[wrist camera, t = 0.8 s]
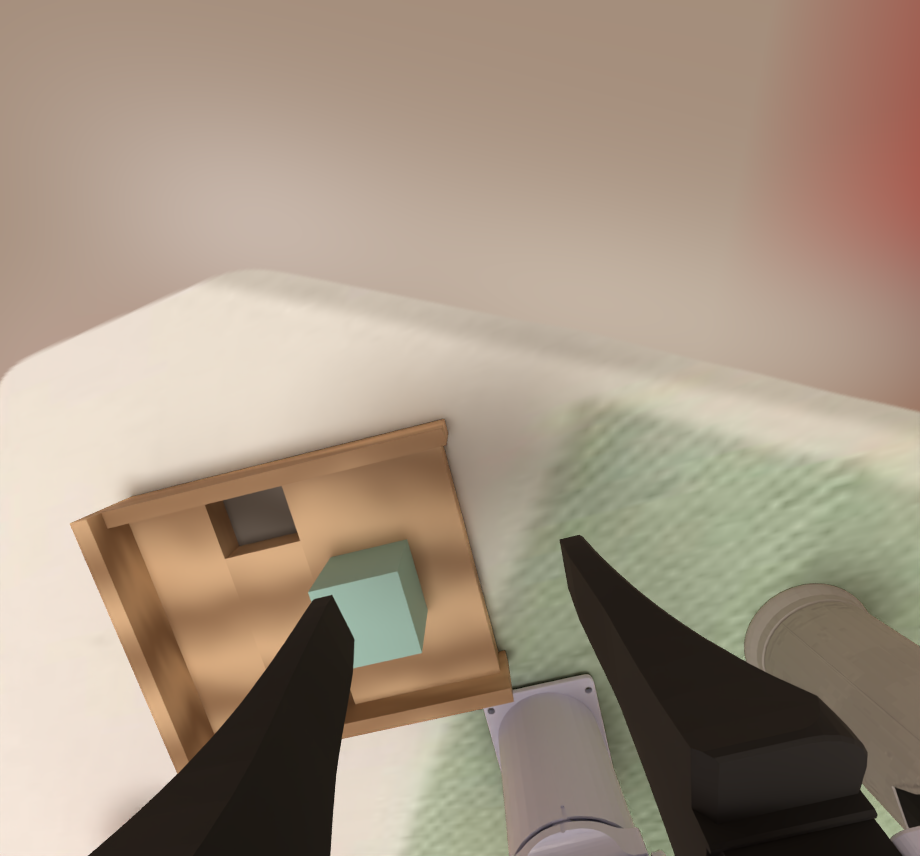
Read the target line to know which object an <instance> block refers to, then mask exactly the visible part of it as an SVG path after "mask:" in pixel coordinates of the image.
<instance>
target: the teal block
mask: <svg viewBox="0 0 920 856" xmlns="http://www.w3.org/2000/svg"><path fill="white" fill-rule="evenodd" d="M308 594H309V597H310V600H311V602H312V601H313V599H317V598H321V597H325V596H329V595H333V597H334V599H335V601H336V603H337V605H338V607H339V609H340V611H341V613H342V615H343V617H344V619H345V621H346V623H347V625H348V627H349V629H350V631H351V633H352V635H353V637H354V639H355V642H354V664H353V668H357V667H362V666H366V665H371V664H375V663H380V662H384V661H389V660H393V659H398V658H402V657H407V656H411V655H415V654H420V653H422V649H423V642H424V635H425V627H426V620H427V613H428V609H427V606H426V602H425V599H424V596H423V592H422V589H421V585H420V582H419V578H418V575H417V571H416V568H415V565H414V561H413V558H412V554H411V551H410V547H409V544H408V541H407V539H406V540H402V541H398V542H393V543H389V544H385V545H381V546H376V547H372V548H368V549H364V550H359V551H355V552H351V553H347V554H343V555H338V556H334V557H330V559H329V560H328V562H327V563H326V565H325V567H324V568H323V570H322V571H321V573H320V574H319V576H318V577H317V579H316V581H315V582H314V584H313V585H312V587H311V588H310V590H309V591H308Z"/></svg>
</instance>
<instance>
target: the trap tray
mask: <svg viewBox="0 0 920 856" xmlns="http://www.w3.org/2000/svg"><path fill="white" fill-rule="evenodd" d="M447 438H448V430H447V427H446V423H445V419H441V420H437V421H433V422H429V423H425V424H421V425H417V426H413V427H409V428H405V429H401V430H397V431H393V432H389V433H385V434H381V435H377V436H373V437H369V438H365V439H361V440H357V441H353V442H349V443H345V444H341V445H337V446H333V447H329V448H325V449H321V450H317V451H313V452H309V453H305V454H301V455H297V456H293V457H289V458H285V459H281V460H277V461H273V462H269V463H265V464H261V465H257V466H253V467H249V468H245V469H241V470H237V471H233V472H229V473H225V474H221V475H217V476H213V477H209V478H205V479H201V480H197V481H193V482H189V483H185V484H181V485H177V486H173V487H169V488H165V489H161V490H157V491H153V492H149V493H145V494H141V495H137V496H133V497H129V498H127V499H125V500H122V501H120V502H118V503H116V504H113V505H111V506H109V507H106V508H104V509H102V510H100V511H97V512H95V513H93V514H90V515H88V516H86V517H84V518H81V519H79V520H77V521H74V522H72V523H70V526H71V528H72V530H73V532H74V535H75V537H76V539H77V542H78V544H79V546H80V549H81V551H82V553H83V556H84V558H85V560H86V563H87V565H88V567H89V570H90V572H91V574H92V577H93V579H94V581H95V584H96V586H97V588H98V590H99V593H100V595H101V597H102V600H103V602H104V604H105V607H106V609H107V611H108V614H109V616H110V618H111V621H112V623H113V625H114V628H115V630H116V632H117V635H118V637H119V639H120V642H121V644H122V646H123V649H124V651H125V653H126V655H127V658H128V660H129V662H130V665H131V667H132V669H133V672H134V674H135V676H136V679H137V681H138V683H139V686H140V688H141V690H142V693H143V695H144V697H145V700H146V702H147V704H148V707H149V709H150V711H151V713H152V716H153V718H154V720H155V723H156V725H157V727H158V730H159V732H160V734H161V737H162V739H163V741H164V744H165V746H166V748H167V751H168V753H169V755H170V758H171V760H172V762H173V765H174V767H175V769H176V772H177V774H178V773H179V772H180V771H181V770H182V769H183V768H184V767H185V766H186V764H187V763H188V762H189V761H190V760H191V759H192V758H193V757H194V756H195V755H196V754H197V753H198V752H199V751H200V749H201V748H202V747H203V746H204V745H205V744H206V743H207V742H208V741H209V740H210V739H211V738H212V737H213V735H214V734H215V733H216V732H217V731H218V730H219V729H220V727H221V726H222V725H223V724H224V723H225V721H226V720H227V719H228V718H229V717H230V716H231V714H232V713H233V712H234V711H235V709H236V708H237V707H238V706H239V705H240V703H241V702H242V701H243V699H244V698H245V697H246V696H247V694H248V693H249V692H250V690H251V689H252V687H253V686H254V685H255V683H256V682H257V681H258V679H259V678H260V677H261V675H262V674H263V673H264V671H265V670H266V668H267V667H268V666H269V664H270V663H271V662H272V660H273V659H274V657H275V656H276V654H277V653H278V651H279V650H280V648H281V647H282V645H283V644H284V642H285V641H286V640H287V638H288V637H289V635H290V634H291V632H292V631H293V629H294V627H295V626H296V624H297V623H298V621H299V620H300V618H301V617H302V615H303V614H304V612H305V611H306V609H307V608H308V606H309V605H310V603H311V600H310V597H309V594H308V591H309V590H310V588H311V587H312V585H313V584H314V582H315V581H316V579H317V577H318V576H319V574H320V573H321V571H322V570H323V568H324V567H325V565H326V563H327V562H328V560H329V559H330V557H334V556H338V555H343V554H347V553H351V552H355V551H359V550H364V549H368V548H372V547H376V546H381V545H385V544H389V543H393V542H398V541H402V540H406V539H407V541H408V544H409V547H410V551H411V554H412V558H413V561H414V565H415V568H416V571H417V575H418V578H419V582H420V585H421V589H422V592H423V596H424V599H425V602H426V606H427V609H428V613H427V620H426V627H425V635H424V642H423V649H422V653H420V654H415V655H411V656H407V657H402V658H398V659H393V660H389V661H384V662H380V663H375V664H371V665H366V666H362V667H357V668H353V676H352V682H351V688H350V694H349V700H348V706H347V712H346V717H345V723H344V729H343V734H342V739H344V738H348V737H353V736H358V735H362V734H367V733H372V732H376V731H381V730H386V729H390V728H395V727H400V726H404V725H409V724H414V723H418V722H423V721H428V720H432V719H437V718H441V717H446V716H451V715H455V714H460V713H465V712H469V711H474V710H479V709H483V708H488V707H493V706H497V705H502V704H507V703H511V702H514V698H513V691H512V684H511V678H510V671H509V664H508V659H507V656H506V652H505V650H504V651H499V652H498V649H497V645H496V642H495V638H494V634H493V630H492V627H491V623H490V619H489V615H488V612H487V608H486V604H485V600H484V596H483V593H482V589H481V585H480V581H479V578H478V574H477V570H476V566H475V563H474V559H473V555H472V551H471V547H470V544H469V540H468V536H467V532H466V529H465V525H464V521H463V517H462V514H461V510H460V506H459V502H458V498H457V495H456V491H455V487H454V483H453V480H452V476H451V472H450V468H449V465H448V461H447V457H446V453H445V449H444V446H445V445H446V444H447Z"/></svg>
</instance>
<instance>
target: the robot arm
mask: <svg viewBox="0 0 920 856" xmlns="http://www.w3.org/2000/svg"><path fill="white" fill-rule="evenodd" d="M560 545H561V550H562V556H563V561H564V567H565V573H566V578H567V584H568V589H569V592H570V594H571V597H572V600H573V603H574V606H575V609H576V611H577V614H578V617H579V620H580V622H581V624H582V626H583V628H584V630H585V633H586V635H587V637H588V639H589V641H590V643H591V645H592V647H593V649H594V651H595V654H596V656H597V658H598V660H599V662H600V664H601V666H602V668H603V670H604V672H605V674H606V676H607V679H608V681H609V683H610V685H611V687H612V689H613V691H614V693H615V696H616V698H617V700H618V703H619V705H620V707H621V710H622V712H623V715H624V717H625V720H626V723H627V725H628V728H629V731H630V733H631V736H632V739H633V741H634V744H635V746H636V749H637V752H638V755H639V757H640V760H641V763H642V765H643V768H644V771H645V773H646V776H647V779H648V782H649V784H650V787H651V790H652V792H653V795H654V798H655V801H656V804H657V806H658V809H659V812H660V815H661V817H662V820H663V823H664V826H665V828H666V831H667V834H668V837H669V840H670V842H671V845H672V848H673V851H674V854H675V856H920V826H917V827H912V828H909V829H905V830H902V831H900V832H898V833H896V834H895V835H893V836H892V837H891V838H890V839H889V837H888V836H887V835H886V833H885V832H884V831H883V830H882V828H881V827H880V826H879V824H878V823H877V822H876V820H875V818H877V813H876V810H875V808H874V807H873V806H872V805H871V803H870V802H869V801H868V799H867V798H866V797H865V796H864V794H863V793H862V792H861V790H860V788H861V785H862V781H863V778H864V775H865V771H866V768H867V758H868V752H867V750H866V748H865V746H864V744H863V743H862V742H861V741H860V740H859V739H858V737H857V736H856V735H855V734H854V733H853V732H852V730H851V729H850V728H849V727H848V726H847V725H846V724H845V723H844V722H843V721H842V720H841V719H840V718H839V717H838V715H837V714H836V713H835V712H833V711H832V710H831V709H830V708H829V707H828V706H827V705H826V704H825V703H824V702H823V701H822V700H821V699H820V698H819V697H818V696H817V695H815V694H812V693H810V692H808V691H806V690H804V689H801V688H799V687H797V686H795V685H793V684H790V683H788V682H786V681H784V680H782V679H779V678H777V677H775V676H773V675H771V674H769V673H767V672H765V671H763V670H761V669H759V668H757V667H755V666H753V665H751V664H749V663H747V662H746V661H744V660H742V659H740V658H738V657H737V656H735V655H733V654H731V653H730V652H728V651H726V650H724V649H723V648H721V647H719V646H718V645H716V644H714V643H712V642H711V641H709V640H707V639H705V638H704V637H702V636H701V635H699V634H698V633H696V632H695V631H693V630H691V629H690V628H688V627H687V626H685V625H684V624H682V623H681V622H680V621H678V620H677V619H675V618H674V617H672V616H671V615H669V614H668V613H667V612H665V611H664V610H663V609H661V608H660V607H659V606H657V605H656V604H655V603H653V602H652V601H651V600H650V599H648V598H647V597H646V596H645V595H643V594H642V593H641V592H640V591H638V590H637V589H636V588H635V587H634V586H633V585H631V584H630V583H629V582H628V581H627V580H626V579H625V578H623V577H622V576H621V575H620V574H619V573H618V572H617V571H616V570H615V569H613V568H612V567H611V566H610V565H609V564H608V563H607V562H606V561H605V560H604V559H603V558H602V557H601V556H600V555H599V554H598V553H597V552H596V551H595V550H594V549H593V548H592V546H591V545H590V544H589V543H588V542H587V541H586V540H585V539H584V537H582V536H580V535H577V536H572V537H568V538H564V539H560ZM354 642H355V639H354V637H353V635H352V633H351V631H350V629H349V627H348V625H347V623H346V621H345V619H344V617H343V615H342V613H341V611H340V609H339V607H338V605H337V603H336V601H335V599H334V597H333V595H329V596H325V597H321V598H317V599H313V601H312V602H311V603H310V605H309V606H308V608H307V609H306V611H305V612H304V614H303V615H302V617H301V618H300V620H299V621H298V623H297V624H296V626H295V627H294V629H293V631H292V632H291V634H290V635H289V637H288V638H287V640H286V641H285V642H284V644H283V645H282V647H281V648H280V650H279V651H278V653H277V654H276V656H275V657H274V659H273V660H272V662H271V663H270V664H269V666H268V667H267V668H266V670H265V671H264V673H263V674H262V675H261V677H260V678H259V679H258V681H257V682H256V683H255V685H254V686H253V687H252V689H251V690H250V692H249V693H248V694H247V696H246V697H245V698H244V699H243V701H242V702H241V703H240V705H239V706H238V707H237V708H236V709H235V711H234V712H233V713H232V714H231V716H230V717H229V718H228V719H227V720H226V721H225V723H224V724H223V725H222V726H221V727H220V729H219V730H218V731H217V732H216V733H215V734H214V735H213V737H212V738H211V739H210V740H209V741H208V742H207V743H206V744H205V745H204V746H203V747H202V748H201V749H200V751H199V752H198V753H197V754H196V755H195V756H194V757H193V758H192V759H191V760H190V761H189V762H188V763H187V764H186V766H185V767H184V768H183V769H182V770H181V771H180V772H179V773H178V774H177V775H176V776H175V777H174V778H173V779H172V780H171V781H170V782H169V783H168V784H167V785H166V786H165V787H164V788H163V789H162V790H161V791H160V792H159V793H158V794H157V795H156V796H154V797H153V798H152V799H151V800H150V801H149V802H148V803H147V804H146V805H145V806H144V807H143V808H142V809H141V810H140V811H139V812H137V813H136V814H135V815H134V816H133V817H132V818H131V819H130V820H129V821H128V822H126V823H125V824H124V825H123V826H122V827H121V828H120V829H118V830H117V831H116V832H115V833H114V834H113V835H111V836H110V837H109V838H108V839H107V840H106V841H105V842H103V843H102V844H101V845H100V846H99V847H98V848H97V849H95V850H94V851H93V852H92V853H91V854H90V855H88V856H330V851H331V835H332V820H333V807H334V795H335V783H336V772H337V765H338V758H339V751H340V746H341V740H342V734H343V729H344V723H345V717H346V712H347V706H348V700H349V694H350V688H351V682H352V676H353V664H354ZM587 687H590V688H589V689H586V688H587ZM512 691H513V698H514V702H511V703H507V704H502V705H497V706H493V707H488V708H483V709H484V713H485V716H486V720H487V723H488V727H489V731H490V734H491V738H492V741H493V745H494V749H495V752H496V756H497V759H498V763H499V766H500V770H501V774H502V784H503V795H504V806H505V816H506V827H507V838H508V849H509V856H649V855H648V852H647V850H646V847H645V844H644V841H643V839H642V836H641V833H640V831H639V829H638V828H637V827H635V826H634V823H633V821H632V818H631V815H630V812H629V810H628V807H627V804H626V801H625V799H624V796H623V793H622V790H621V788H620V785H619V782H618V779H617V776H616V774H615V771H614V768H613V764H612V760H611V755H610V751H609V747H608V742H607V738H606V733H605V729H604V724H603V720H602V716H601V711H600V707H599V702H598V698H597V693H596V689H595V685H594V681H593V679H592V677H591V676H590V675H588V674H584V675H579V676H575V677H570V678H565V679H561V680H556V681H551V682H547V683H542V684H538V685H533V686H528V687H524V688H519V689H514V690H512ZM489 708H493V709H492V710H489ZM651 856H666V855H665V853H664V852H663V851H661V850H658V851H656V852H652V853H651Z"/></svg>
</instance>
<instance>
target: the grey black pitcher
mask: <svg viewBox="0 0 920 856" xmlns="http://www.w3.org/2000/svg"><path fill="white" fill-rule="evenodd" d="M744 653H745V658H746V662H747V663H749V664H751V665H753V666H755V667H757V668H759V669H761V670H763V671H765V672H767V673H769V674H771V675H773V676H775V677H777V678H779V679H782V680H784V681H786V682H788V683H790V684H793V685H795V686H797V687H799V688H801V689H804V690H806V691H808V692H810V693H812V694H815V695H817V696H818V697H819V698H820V699H821V700H822V701H823V702H824V703H825V704H826V705H827V706H828V707H829V708H830V709H831V710H832V711H833V712H835V713H836V714H837V715H838V717H839V718H840V719H841V720H842V721H843V722H844V723H845V724H846V725H847V726H848V727H849V728H850V729H851V730H852V732H853V733H854V734H855V735H856V736H857V737H858V739H859V740H860V741H861V742H862V743H863V744H864V746H865V748H866V750H867V752H868V758H867V768H866V771H865V775H864V778H863V781H862V784H863V785H864V786H865V787H866V788H867V790H868V791H869V792H870V793H871V794H872V795H873V796H874V797H875V798H876V799H877V800H878V801H879V803H880V804H881V805H882V806H883V807H884V808H885V809H886V810H887V811H888V812H889V813H890V814H891V816H892V817H893V818H894V819H895V820H896V821H897V822H898V823H899V824H900V825H901V826H902V827H903V829H904V830H905V829H909V828H912V827H917V826H920V646H918V645H917V644H915V643H914V642H912V641H910V640H909V639H907V638H906V637H904V636H903V635H901V634H900V633H898V632H897V631H895V630H893V629H892V628H890V627H889V626H887V625H886V624H884V623H883V622H881V621H879V620H878V619H876V618H875V617H873V616H872V615H870V614H869V613H868V612H867V610H866V609H865V607H864V606H863V604H862V603H861V602H860V601H859V600H858V599H857V598H856V597H855V596H853V595H852V594H850V593H849V592H847V591H846V590H843V589H841V588H838V587H836V586H832V585H827V584H805V585H800V586H796V587H792V588H790V589H787V590H785V591H783V592H781V593H779V594H777V595H776V596H774V597H773V598H771V599H770V600H769V601H768V602H766V603H765V604H764V605H763V606H762V607H761V608H760V609H759V611H758V612H757V613H756V614H755V616H754V617H753V619H752V621H751V622H750V624H749V627H748V630H747V632H746V636H745V642H744Z"/></svg>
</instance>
